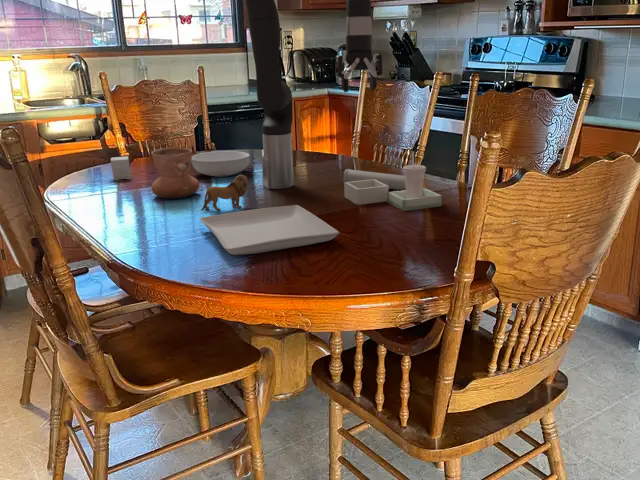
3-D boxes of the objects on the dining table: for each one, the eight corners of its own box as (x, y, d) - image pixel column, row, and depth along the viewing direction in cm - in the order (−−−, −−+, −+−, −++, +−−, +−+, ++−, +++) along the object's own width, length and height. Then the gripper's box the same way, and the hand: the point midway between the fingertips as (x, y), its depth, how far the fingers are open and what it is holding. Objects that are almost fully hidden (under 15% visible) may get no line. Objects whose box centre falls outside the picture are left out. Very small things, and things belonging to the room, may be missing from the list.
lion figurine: (245, 202, 175) (243, 172, 172) (253, 206, 171) (251, 175, 168) (198, 210, 168) (195, 179, 165) (204, 214, 164) (201, 182, 161)
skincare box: (131, 176, 214) (128, 155, 212) (131, 179, 209) (128, 158, 206) (113, 177, 213) (110, 157, 210) (113, 181, 207) (110, 160, 205)
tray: (403, 210, 162) (403, 200, 161) (387, 202, 171) (387, 192, 170) (441, 206, 165) (442, 195, 165) (424, 197, 174) (424, 187, 173)
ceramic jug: (209, 197, 181) (204, 151, 177) (162, 205, 174) (157, 157, 169) (187, 186, 196) (183, 144, 191) (144, 193, 188) (138, 149, 184)
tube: (422, 177, 183) (352, 169, 196) (416, 175, 178) (344, 167, 191) (419, 194, 183) (349, 185, 196) (413, 193, 179) (341, 183, 191)
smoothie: (400, 198, 171) (401, 150, 166) (422, 197, 171) (423, 149, 167) (405, 204, 165) (406, 154, 160) (427, 203, 165) (429, 153, 161)
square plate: (227, 264, 127) (226, 247, 126) (199, 230, 151) (198, 215, 150) (341, 245, 137) (340, 229, 136) (298, 216, 161) (297, 202, 160)
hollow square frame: (357, 204, 169) (357, 189, 168) (344, 196, 178) (344, 182, 176) (388, 201, 172) (388, 185, 171) (374, 193, 181) (374, 179, 179)
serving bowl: (261, 175, 210) (260, 155, 208) (206, 184, 199) (204, 163, 197) (234, 166, 227) (233, 148, 225) (183, 173, 216) (181, 155, 214)
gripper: (375, 33, 177) (375, 89, 182) (331, 34, 173) (332, 91, 178) (386, 33, 171) (386, 90, 176) (340, 34, 166) (341, 93, 171)
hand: (359, 91), depth 177 cm, fingers open, 8 cm apart
